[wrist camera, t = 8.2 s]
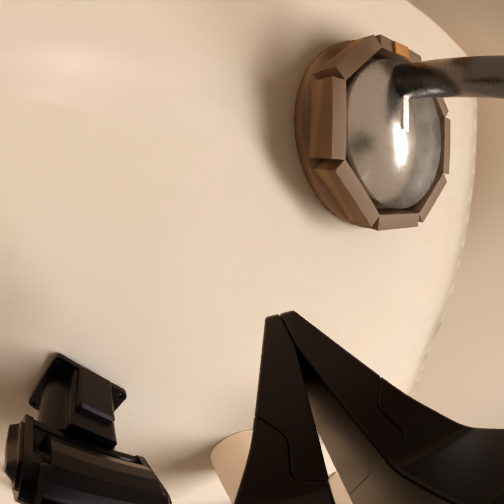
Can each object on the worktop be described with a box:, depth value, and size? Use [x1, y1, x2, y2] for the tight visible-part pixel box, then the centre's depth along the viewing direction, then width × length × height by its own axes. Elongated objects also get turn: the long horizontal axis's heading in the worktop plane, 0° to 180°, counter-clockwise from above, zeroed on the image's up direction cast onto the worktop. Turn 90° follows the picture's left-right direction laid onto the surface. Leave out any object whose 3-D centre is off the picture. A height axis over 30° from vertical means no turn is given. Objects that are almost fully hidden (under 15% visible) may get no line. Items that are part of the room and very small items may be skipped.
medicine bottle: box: [328, 472, 353, 504], centre depth 38 cm, size 7×7×12 cm
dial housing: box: [295, 35, 450, 231], centre depth 22 cm, size 17×17×4 cm
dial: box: [345, 56, 504, 209], centre depth 16 cm, size 13×13×14 cm
